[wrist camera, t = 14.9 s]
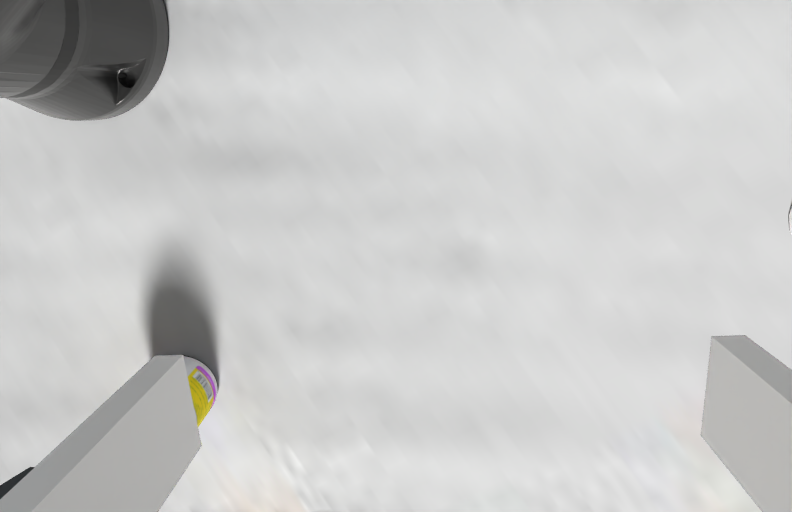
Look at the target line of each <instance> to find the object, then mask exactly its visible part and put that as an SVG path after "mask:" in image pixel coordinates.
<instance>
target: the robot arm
mask: <svg viewBox="0 0 792 512" xmlns="http://www.w3.org/2000/svg"><path fill="white" fill-rule="evenodd" d="M167 48H168V23H167V16H166V11H165V6H164V3H163V0H0V98H7V99H9V100H12V101H14V102H16V103H19V104H21V105H23V106H26V107H28V108H30V109H33V110H35V111H37V112H40V113H42V114H45V115H48V116H51V117H55V118H60V119H65V120H75V121H83V120H100V119H107V118H111V117H115V116H118V115H120V114H123V113H125V112H127V111H129V110H130V109H132V108H134V107H135V106H136V105H138V104H139V103H140V102H141V101H142V100H143V99H144V98H145V97H146V96H147V95H148V94H149V93H150V91H151V90H152V89H153V87H154V86H155V84H156V82H157V81H158V79H159V76H160V74H161V72H162V69H163V66H164V63H165V59H166V54H167ZM701 437H702V438H703V439H704V440H705V442H706V443H707V444H708V445H709V446H710V448H711V449H712V450H713V451H714V453H715V454H716V455H717V456H718V458H719V459H720V460H721V461H722V463H723V464H724V465H725V466H726V468H727V469H728V470H729V471H730V473H731V474H732V475H733V476H734V477H735V479H736V480H737V481H738V482H739V484H740V485H741V486H742V487H743V489H744V490H745V491H746V492H747V494H748V495H749V496H750V497H751V499H752V500H753V501H754V502H755V504H756V505H757V506H758V507H759V508H760V510H761V511H762V512H792V370H791V369H790V368H788V367H787V366H786V365H784V364H783V363H782V362H780V361H779V360H778V359H776V358H775V357H774V356H772V355H771V354H770V353H768V352H767V351H766V350H764V349H763V348H762V347H760V346H759V345H758V344H756V343H755V342H754V341H752V340H751V339H750V338H748V337H747V336H746V335H735V336H711V346H710V355H709V364H708V373H707V382H706V391H705V400H704V410H703V419H702V428H701ZM201 446H202V445H201V440H200V435H199V430H198V426H197V421H196V416H195V411H194V406H193V401H192V396H191V391H190V386H189V381H188V376H187V371H186V366H185V361H184V356H183V355H162V356H154V357H153V358H152V359H151V360H150V361H149V362H148V363H146V364H145V365H144V366H143V367H142V368H141V369H140V370H139V371H138V372H137V373H136V374H135V375H134V376H133V377H131V378H130V379H129V380H128V381H127V382H126V383H125V384H124V385H123V386H122V387H121V388H120V389H119V390H117V391H116V392H115V393H114V394H113V395H112V396H111V397H110V398H109V399H108V400H107V401H106V402H105V403H103V404H102V405H101V406H100V407H99V408H98V409H97V410H96V411H95V412H94V413H93V414H92V415H91V416H89V417H88V418H87V419H86V420H85V421H84V422H83V423H82V424H81V425H80V426H79V427H78V428H77V429H75V430H74V431H73V432H72V433H71V434H70V435H69V436H68V437H67V438H66V439H65V440H64V441H63V442H61V443H60V444H59V445H58V446H57V447H56V448H55V449H54V450H53V451H52V452H51V453H50V454H49V455H47V456H46V457H45V458H44V459H43V460H42V461H41V462H40V463H39V464H38V465H37V466H36V467H30V468H28V469H26V470H25V471H23V472H21V473H20V474H18V475H16V476H15V477H13V478H12V479H10V480H8V481H7V482H5V483H3V484H2V485H0V512H158V511H159V509H160V508H161V506H162V505H163V503H164V502H165V500H166V499H167V497H168V496H169V494H170V493H171V491H172V490H173V488H174V487H175V485H176V484H177V482H178V481H179V479H180V478H181V476H182V475H183V473H184V472H185V470H186V469H187V467H188V466H189V464H190V463H191V461H192V460H193V458H194V457H195V455H196V453H197V452H198V450H199V449H200V447H201Z"/></svg>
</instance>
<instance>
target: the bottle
mask: <svg viewBox="0 0 792 512" xmlns="http://www.w3.org/2000/svg"><path fill="white" fill-rule="evenodd" d="M789 227H790V233H791V235H792V208H791V211H790V214H789Z"/></svg>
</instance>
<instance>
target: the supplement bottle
mask: <svg viewBox="0 0 792 512" xmlns="http://www.w3.org/2000/svg"><path fill="white" fill-rule="evenodd" d="M184 361H185V366H186V371H187V376H188V381H189V386H190V391H191V396H192V401H193V406H194V411H195V416H196V421H197V426H199V425H200V424H201V422H202V421H203V419H204V418H205V416H206V415H207V413H208V412H209V411H210V409H211V408H212V406H213V404H214V402H215V400H216V397H217V383H216V380H215V377H214V375H213V374H212V372H211V371H210V370H209V368H208V367H207V366H206V365H204V364H203V363H201V362H200V361H198V360H196V359H193V358H190V357H186V356H184Z"/></svg>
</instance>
